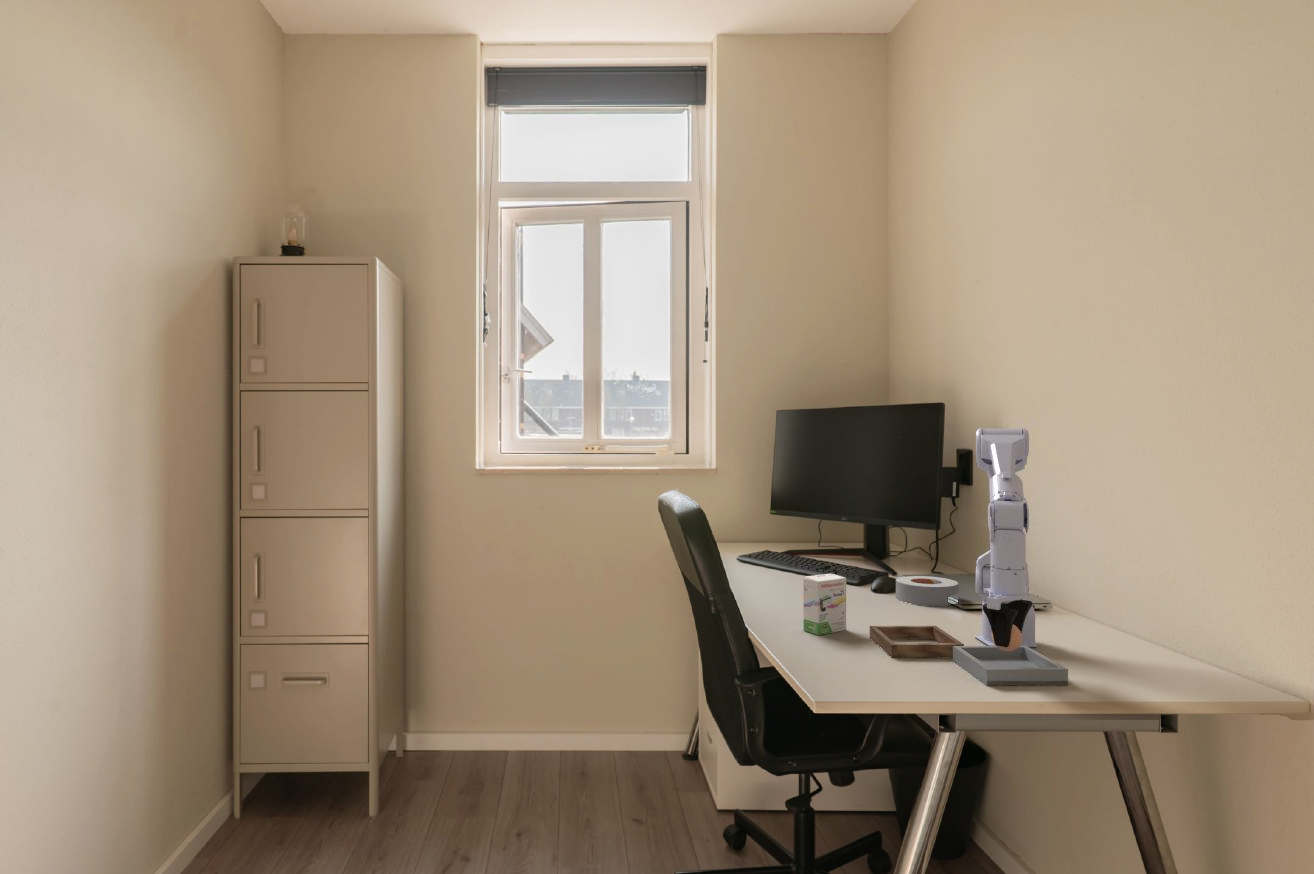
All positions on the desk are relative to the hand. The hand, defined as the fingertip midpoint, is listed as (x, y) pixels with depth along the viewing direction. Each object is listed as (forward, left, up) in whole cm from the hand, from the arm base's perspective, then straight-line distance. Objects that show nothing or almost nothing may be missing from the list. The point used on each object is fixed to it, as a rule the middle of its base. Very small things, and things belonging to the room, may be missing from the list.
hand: (1007, 642), depth 135 cm
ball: (0, 0, +1) cm, 1 cm away
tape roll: (-8, -59, -6) cm, 60 cm away
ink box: (+26, -29, -6) cm, 39 cm away
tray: (0, 0, -5) cm, 5 cm away
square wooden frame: (+11, -16, -5) cm, 20 cm away
